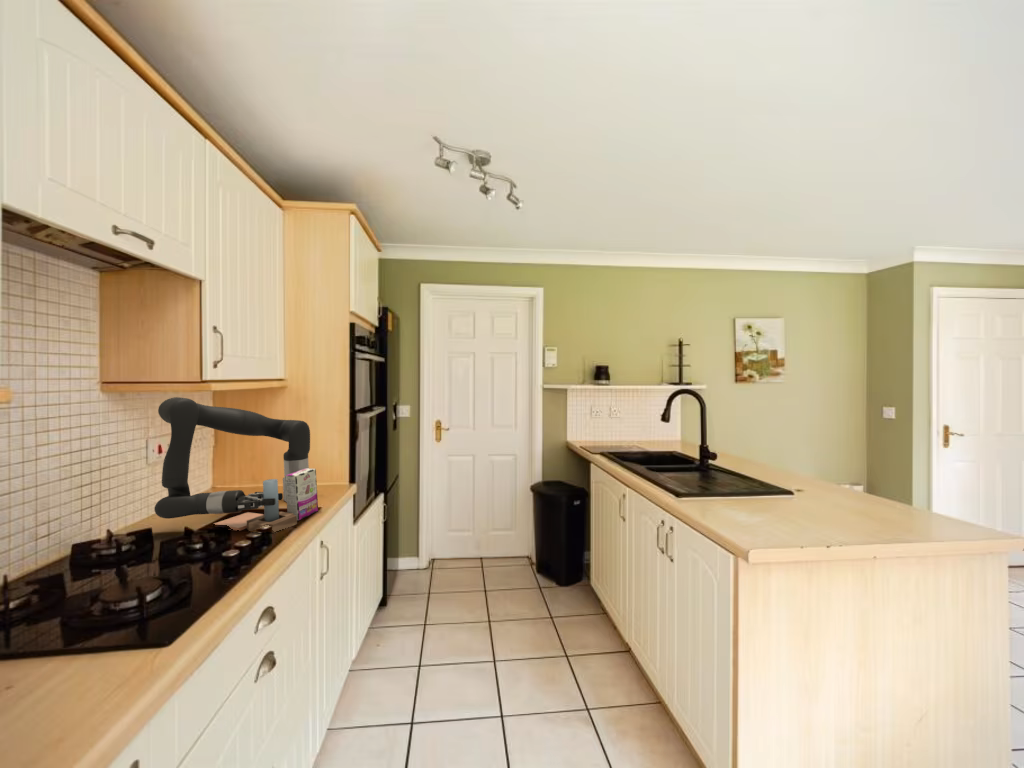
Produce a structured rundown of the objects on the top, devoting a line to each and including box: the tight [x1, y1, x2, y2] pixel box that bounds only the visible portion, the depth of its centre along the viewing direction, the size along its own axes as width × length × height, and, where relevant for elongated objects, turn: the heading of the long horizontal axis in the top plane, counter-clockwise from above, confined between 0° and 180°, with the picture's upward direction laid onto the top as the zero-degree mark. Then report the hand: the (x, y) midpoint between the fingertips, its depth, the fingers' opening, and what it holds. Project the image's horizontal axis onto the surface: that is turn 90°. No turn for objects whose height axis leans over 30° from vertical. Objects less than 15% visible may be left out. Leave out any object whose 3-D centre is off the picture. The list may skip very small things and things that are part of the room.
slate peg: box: [262, 478, 280, 522], centre depth 152 cm, size 4×4×16 cm
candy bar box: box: [285, 467, 319, 521], centre depth 164 cm, size 11×5×16 cm, turn 168°
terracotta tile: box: [213, 511, 264, 532], centre depth 158 cm, size 13×13×1 cm
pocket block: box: [246, 511, 298, 533], centre depth 152 cm, size 12×12×3 cm
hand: (278, 498), depth 153 cm, fingers open, 5 cm apart
